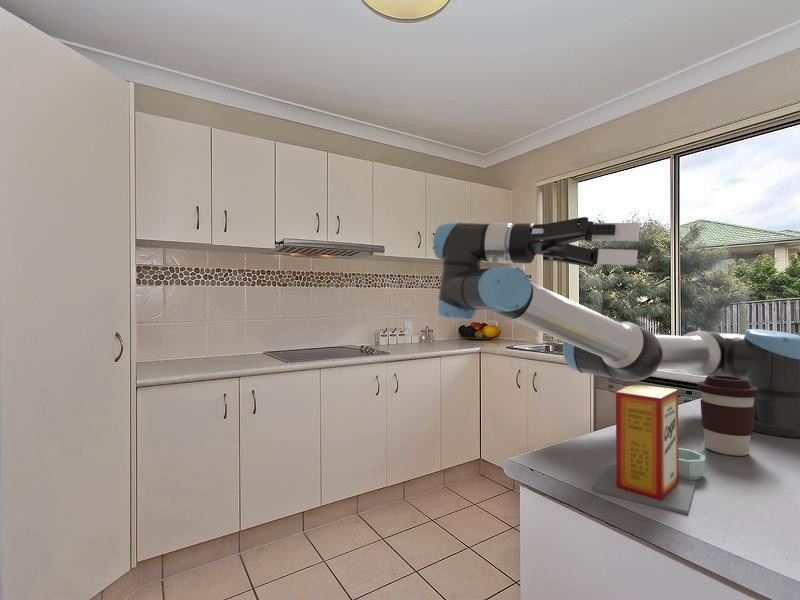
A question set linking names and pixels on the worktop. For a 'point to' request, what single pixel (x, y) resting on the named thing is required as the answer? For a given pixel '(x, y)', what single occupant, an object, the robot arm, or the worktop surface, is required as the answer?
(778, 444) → the worktop surface
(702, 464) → the bowl
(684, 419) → the worktop surface
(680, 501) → the mat
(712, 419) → the coffee cup
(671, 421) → the baking soda box
